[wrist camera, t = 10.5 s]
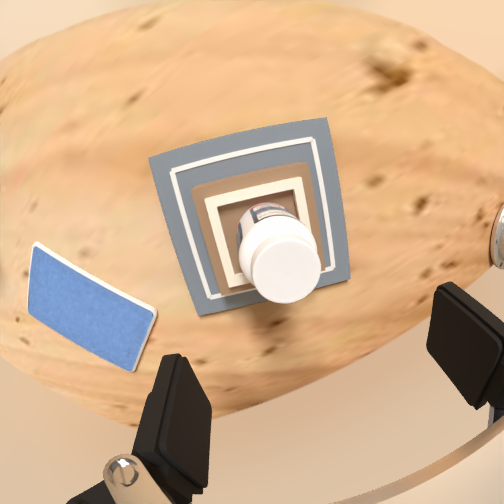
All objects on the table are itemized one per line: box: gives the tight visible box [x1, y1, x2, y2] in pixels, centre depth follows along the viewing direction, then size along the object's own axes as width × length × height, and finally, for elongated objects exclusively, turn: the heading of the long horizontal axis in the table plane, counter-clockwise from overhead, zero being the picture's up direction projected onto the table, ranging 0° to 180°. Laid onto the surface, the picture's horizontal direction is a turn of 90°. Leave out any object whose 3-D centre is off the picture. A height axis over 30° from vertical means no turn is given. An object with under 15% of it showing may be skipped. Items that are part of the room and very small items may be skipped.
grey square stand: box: [148, 117, 351, 316], centre depth 25 cm, size 18×18×6 cm
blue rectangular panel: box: [27, 242, 158, 372], centre depth 30 cm, size 19×13×1 cm, turn 61°
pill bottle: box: [236, 203, 321, 304], centre depth 19 cm, size 5×5×9 cm
